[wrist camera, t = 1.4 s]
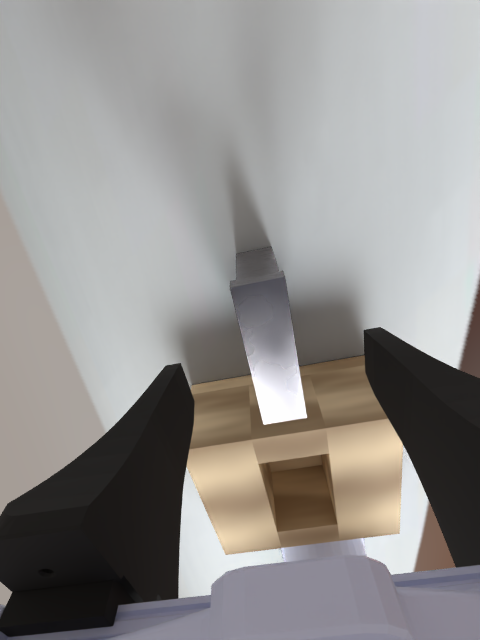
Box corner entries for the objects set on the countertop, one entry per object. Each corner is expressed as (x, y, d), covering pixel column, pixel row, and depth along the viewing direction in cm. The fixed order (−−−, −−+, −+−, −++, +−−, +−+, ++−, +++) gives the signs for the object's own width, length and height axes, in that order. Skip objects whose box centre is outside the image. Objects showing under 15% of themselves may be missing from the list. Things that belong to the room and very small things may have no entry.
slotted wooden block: (370, 463, 27) (399, 533, 22) (227, 483, 28) (225, 554, 23) (367, 354, 22) (403, 416, 17) (191, 385, 23) (179, 451, 18)
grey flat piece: (286, 336, 21) (306, 417, 15) (255, 342, 21) (263, 424, 15) (268, 228, 18) (285, 276, 12) (232, 236, 18) (230, 287, 12)
